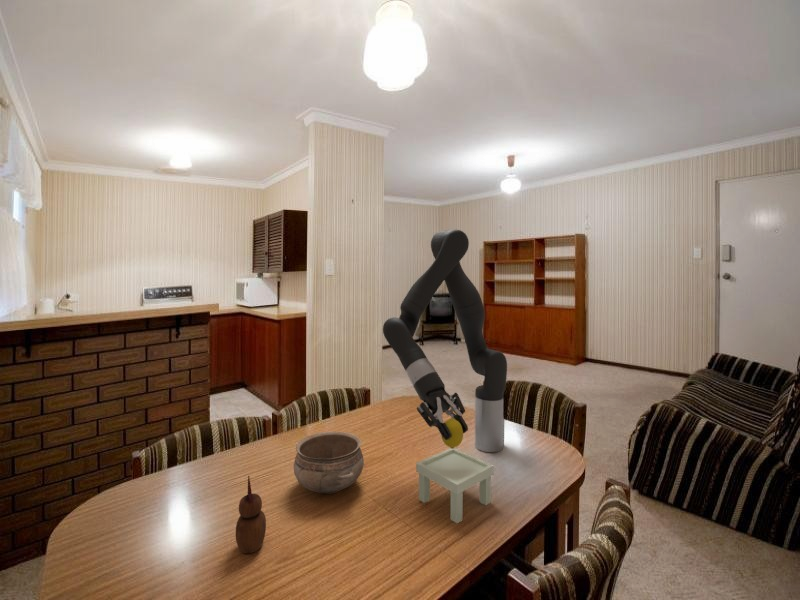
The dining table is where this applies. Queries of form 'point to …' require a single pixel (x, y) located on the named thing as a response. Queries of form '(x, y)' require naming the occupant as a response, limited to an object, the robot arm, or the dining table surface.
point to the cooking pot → (328, 461)
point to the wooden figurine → (250, 523)
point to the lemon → (454, 433)
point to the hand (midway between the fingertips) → (457, 434)
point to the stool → (455, 477)
